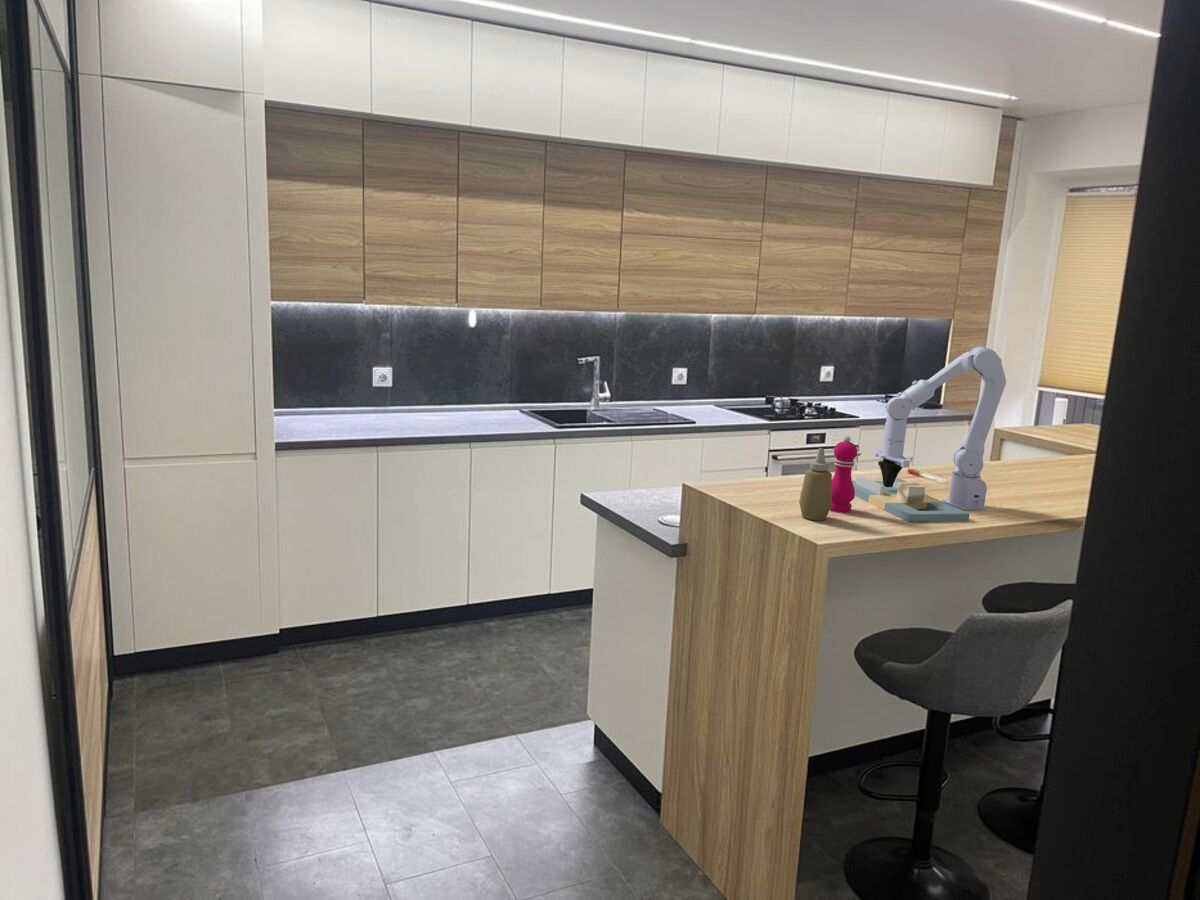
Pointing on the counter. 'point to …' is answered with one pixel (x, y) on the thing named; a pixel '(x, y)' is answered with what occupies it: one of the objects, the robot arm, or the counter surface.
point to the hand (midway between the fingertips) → (887, 486)
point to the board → (907, 511)
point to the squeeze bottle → (817, 489)
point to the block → (910, 492)
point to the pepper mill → (843, 476)
